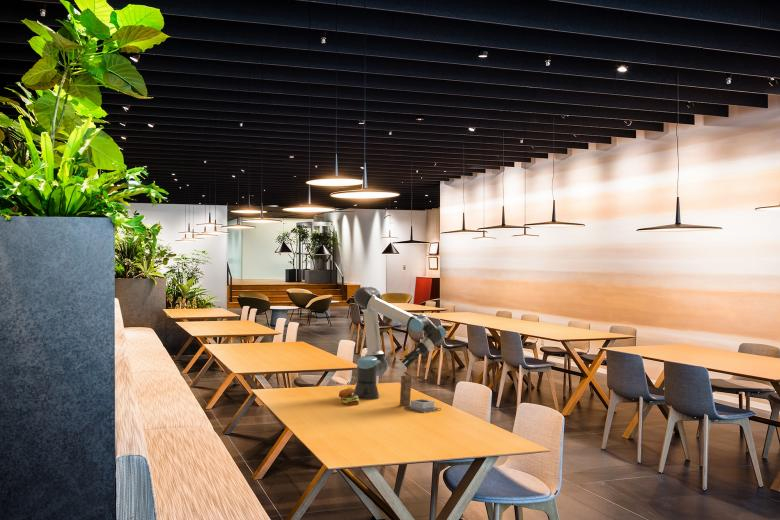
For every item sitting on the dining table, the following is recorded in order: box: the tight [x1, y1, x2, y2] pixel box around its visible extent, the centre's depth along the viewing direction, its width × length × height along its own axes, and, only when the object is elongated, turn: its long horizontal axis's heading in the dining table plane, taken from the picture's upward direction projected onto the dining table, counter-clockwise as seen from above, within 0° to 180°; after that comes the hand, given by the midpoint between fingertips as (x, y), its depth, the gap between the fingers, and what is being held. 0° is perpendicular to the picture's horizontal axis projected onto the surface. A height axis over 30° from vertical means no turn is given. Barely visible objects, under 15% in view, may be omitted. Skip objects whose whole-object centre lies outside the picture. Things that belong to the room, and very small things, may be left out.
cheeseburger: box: [338, 386, 361, 406], centre depth 368 cm, size 10×11×10 cm
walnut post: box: [399, 375, 412, 407], centre depth 373 cm, size 4×4×16 cm
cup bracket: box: [403, 398, 441, 414], centre depth 362 cm, size 14×14×4 cm
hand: (397, 370), depth 382 cm, fingers open, 13 cm apart
